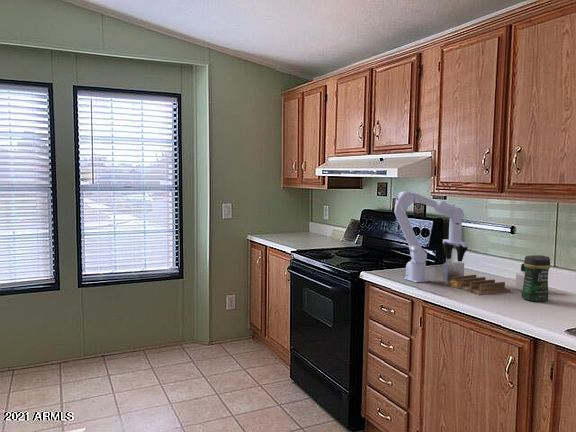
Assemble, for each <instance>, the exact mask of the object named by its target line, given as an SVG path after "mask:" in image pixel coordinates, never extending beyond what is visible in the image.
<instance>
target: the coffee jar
mask: <svg viewBox="0 0 576 432" xmlns="http://www.w3.org/2000/svg"><path fill="white" fill-rule="evenodd" d="M523 263H524V267H525V277H524V284H523V290H522V291H521V297H522V299H523V300H525V301H529V302H530V301H531V302H538V303H539V302H547V301H548V300H549V271H550V268H551V259H550V257H549V256H546V255H539V254H538V255H537V254H536V255H526V256H525V257H524V262H523Z"/></svg>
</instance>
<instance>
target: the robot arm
mask: <svg viewBox="0 0 576 432" xmlns="http://www.w3.org/2000/svg"><path fill="white" fill-rule="evenodd" d="M413 203H414V204H415V203H420V204H422V205H426V206H429V207H431V208H433V209H434V211H435V212H437V213H438V214H440V215H441V214H442V215H443V216H446V217H449V223H448V224H449V226H448V239H447V238H446V239H442V244H441V246H442V248H443V250H444V253H445V258H446V259H447V260H450V259H452V253H453V248H454V246H455V250H456V257H457V258H456V259H457V262H463V259H464V256H465V253H466V252H467V250H468V249H469V247H468V242H466V241H465V242H464V241H463V240H462V233H463V232H462V230H463V229H462V228H463V218H464V216H465V213H464V210H463V209H462V208H461V207H457V206H456V205H455V204H451V203H448V202H447V201H446V200H437V201H435V200H433V199H431V198H428V197H426V196H424V195H422V194H419V193H415V192H411V191H406V190H402V191H400V192H399V193H398V194H397V196H396V197H395V203H394V204H395V205H394V210H393V212H394V215H395V218H396V220H397V222H398V225H399V226H400V228H401V231H402V233H403V235H404V236H403V237H404V238H405V240H406V243H407V245H408V249H409V256H410V257H411V258H410V261H408V262H407V263H406V265H405V277H404V280H408V281H410V282H414V283H425V282H430V280H429V279H427V278H426V272H427V271H426V269H427V267H426V266H427V263H426V262H427V259H428V253H427V252H426V251H425V250H424V249H423V247H422V246H421V244H420V242H419V240H418V239H417V235H416V234H415V231H414V229H413V227H412V224H411V221H410V220H409V217H408V215H407V211H408V208H409V207H410V206H411V205H412V204H413Z"/></svg>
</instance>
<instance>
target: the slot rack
mask: <svg viewBox="0 0 576 432" xmlns="http://www.w3.org/2000/svg"><path fill="white" fill-rule="evenodd" d="M446 286H449V287H452V288H455V289H459V290H462V291H465V292H469V293H471V294H475V295H490V294H497V293H498V294H499V293H508V292H510V291H511V289H510V288H507V287H506V282H505V281H499V282H498V281H497V282H496V279H486V276H481V277H479V276H478V277H477V274H469V275H467V274H466V275H464V276H455V277H452V281H450V283H446Z"/></svg>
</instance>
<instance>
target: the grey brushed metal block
mask: <svg viewBox="0 0 576 432" xmlns="http://www.w3.org/2000/svg"><path fill="white" fill-rule="evenodd" d="M442 273H443V275H442V277H443V279H442V283H443V282H444V283H446V284H447V283H450V281H452V277H455V276H465V263H464V262H463V261H460V262H459V261H455V262H443V272H442Z"/></svg>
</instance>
